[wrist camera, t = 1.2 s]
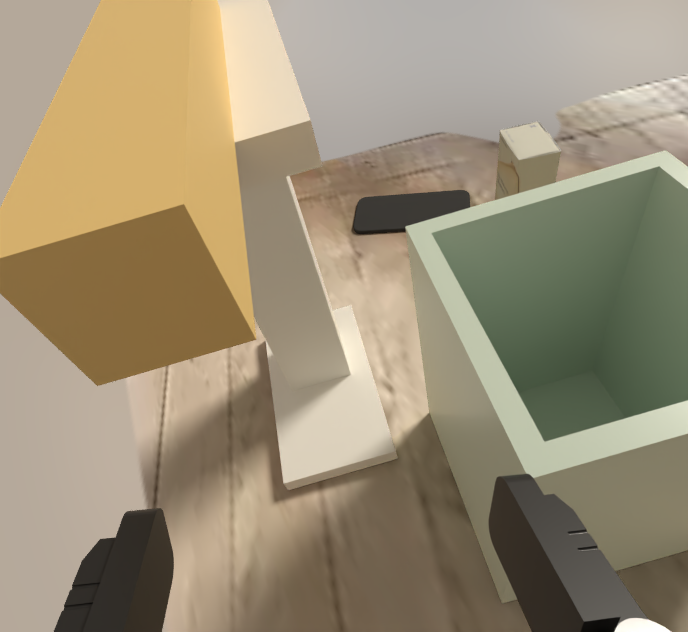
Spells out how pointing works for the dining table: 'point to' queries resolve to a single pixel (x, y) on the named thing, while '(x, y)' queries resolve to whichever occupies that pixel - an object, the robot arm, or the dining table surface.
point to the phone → (406, 210)
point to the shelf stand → (294, 267)
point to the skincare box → (525, 159)
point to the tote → (565, 352)
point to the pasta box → (133, 198)
